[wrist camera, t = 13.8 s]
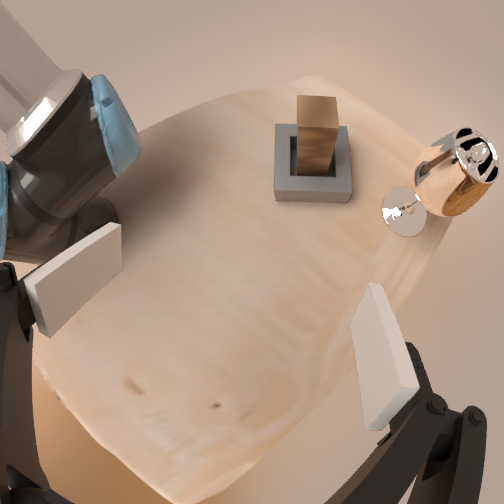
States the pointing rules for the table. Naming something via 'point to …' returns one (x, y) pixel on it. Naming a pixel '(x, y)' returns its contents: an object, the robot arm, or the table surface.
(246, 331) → the table surface
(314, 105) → the wooden block
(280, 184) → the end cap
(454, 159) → the wineglass
